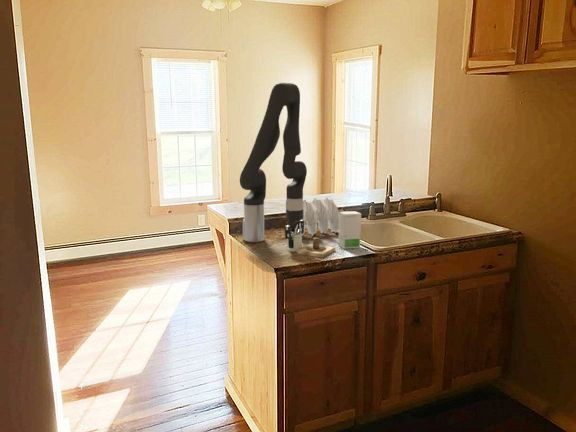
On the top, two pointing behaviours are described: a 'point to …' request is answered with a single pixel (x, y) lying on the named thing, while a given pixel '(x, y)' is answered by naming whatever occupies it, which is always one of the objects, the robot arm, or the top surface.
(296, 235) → the pale green cylinder
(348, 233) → the skincare box
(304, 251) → the post
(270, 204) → the top surface
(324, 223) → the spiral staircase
